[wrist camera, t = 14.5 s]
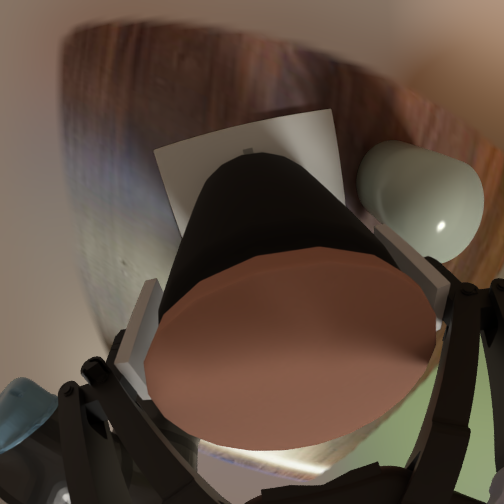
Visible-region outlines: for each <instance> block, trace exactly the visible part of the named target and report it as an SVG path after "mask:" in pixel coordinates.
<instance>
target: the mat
mask: <svg viewBox="0 0 504 504" xmlns="http://www.w3.org/2000/svg"><path fill="white" fill-rule="evenodd" d="M153 151H154V154H155V158H156V161H157V164H158V167H159V171H160V174H161V177H162V180H163V183H164V186H165V189H166V192H167V195H168V198H169V201H170V204H171V207H172V210H173V213H174V216H175V219H176V222H177V225H178V227H179V230H180V233H181V236H182V238H183V235H184V232H185V230H186V227H187V224H188V221H189V219H190V216H191V213H192V211H193V208H194V206H195V203H196V201H197V198H198V196H199V194H200V192H201V190H202V188H203V186H204V184H205V182H206V180H207V179H208V178H209V177H210V176H211V175H212V174H213V173H214V172H215V171H216V170H217V169H218V168H219V167H220V166H221V165H222V164H224V163H226V162H228V161H230V160H232V159H234V158H236V157H238V156H240V155H245V154H252V153H260V152H265V153H270V154H276V155H281V156H285V157H286V158H288V159H290V160H292V161H294V162H295V163H297V164H299V165H301V166H302V167H303V168H305V169H306V170H307V171H308V172H309V173H310V174H311V175H312V176H314V177H315V178H316V179H317V180H318V181H319V182H320V183H321V184H322V185H323V186H325V187H326V188H327V189H328V190H329V191H330V192H331V193H332V194H333V195H334V196H335V197H336V198H337V199H338V200H340V201H341V202H342V203H343V204H344V205H345V196H344V188H343V180H342V172H341V165H340V158H339V151H338V145H337V138H336V132H335V127H334V121H333V115H332V110H331V109H325V110H318V111H311V112H305V113H298V114H293V115H287V116H281V117H276V118H271V119H266V120H261V121H256V122H252V123H247V124H243V125H239V126H234V127H230V128H226V129H222V130H218V131H215V132H211V133H207V134H203V135H200V136H196V137H193V138H189V139H186V140H183V141H179V142H176V143H173V144H170V145H167V146H164V147H161V148H158V149H155V150H153Z"/></svg>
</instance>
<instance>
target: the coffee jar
mask: <svg viewBox="0 0 504 504" xmlns="http://www.w3.org/2000/svg"><path fill="white" fill-rule="evenodd" d="M435 346H436V314H435V312H434V310H433V309H432V307H431V305H430V303H429V301H428V299H427V298H426V296H425V294H424V292H423V290H422V289H421V287H420V286H419V285H418V284H417V283H416V282H415V281H414V280H413V279H412V278H411V277H409V276H408V275H407V274H405V273H403V272H402V271H401V270H400V268H399V267H398V265H397V264H396V262H395V261H394V259H393V258H392V256H391V255H390V253H389V252H388V250H387V249H386V247H385V246H384V245H383V244H382V243H381V242H380V240H379V239H378V238H377V237H376V236H375V235H374V234H373V233H372V232H371V231H370V230H369V229H368V228H367V227H366V226H365V225H364V224H363V223H362V222H361V221H360V220H359V219H358V218H357V217H356V216H355V215H354V214H353V213H352V212H351V211H350V210H349V209H348V208H347V207H346V206H345V205H344V204H343V203H342V202H341V201H340V200H338V199H337V198H336V197H335V196H334V195H333V194H332V193H331V192H330V191H329V190H328V189H327V188H326V187H325V186H323V185H322V184H321V183H320V182H319V181H318V180H317V179H316V178H315V177H314V176H312V175H311V174H310V173H309V172H308V171H307V170H306V169H305V168H303V167H302V166H301V165H299V164H297V163H295V162H294V161H292V160H290V159H288V158H286V157H285V156H281V155H276V154H270V153H265V152H260V153H252V154H245V155H240V156H238V157H236V158H234V159H232V160H230V161H228V162H226V163H224V164H222V165H221V166H220V167H219V168H218V169H217V170H216V171H215V172H214V173H213V174H212V175H211V176H210V177H209V178H208V179H207V180H206V182H205V184H204V186H203V188H202V190H201V192H200V194H199V196H198V198H197V201H196V203H195V206H194V208H193V211H192V213H191V216H190V219H189V221H188V224H187V227H186V230H185V232H184V235H183V238H182V240H181V243H180V246H179V249H178V252H177V255H176V257H175V260H174V263H173V266H172V269H171V272H170V275H169V278H168V281H167V284H166V287H165V290H164V293H163V296H162V299H161V303H160V306H159V309H158V329H157V331H156V333H155V336H154V338H153V340H152V343H151V345H150V347H149V350H148V352H147V355H146V357H145V360H144V362H143V363H144V371H145V378H146V385H147V391H148V395H149V396H150V398H151V399H152V401H153V402H154V403H155V405H156V406H157V408H158V409H159V410H160V412H161V413H162V414H163V416H164V417H165V418H166V419H168V420H169V421H171V422H172V423H173V424H175V425H176V426H178V427H179V428H181V429H182V430H183V431H185V432H186V433H188V434H190V435H192V436H195V437H197V438H200V439H203V440H205V441H208V442H211V443H213V444H216V445H220V446H225V447H231V448H237V449H244V450H252V451H269V450H288V449H295V448H301V447H306V446H312V445H317V444H320V443H323V442H326V441H329V440H332V439H335V438H338V437H341V436H344V435H346V434H349V433H351V432H353V431H355V430H357V429H359V428H361V427H363V426H364V425H366V424H368V423H370V422H372V421H374V420H375V419H377V418H379V417H380V416H382V415H383V414H384V413H385V412H387V411H388V410H389V409H390V408H392V407H393V406H394V405H395V404H397V403H398V402H399V401H400V400H401V399H403V398H404V397H405V396H406V395H407V393H408V392H409V391H410V390H411V389H412V387H413V386H414V385H415V384H416V382H417V381H418V380H419V379H420V377H421V376H422V375H423V373H424V372H425V370H426V367H427V365H428V363H429V360H430V358H431V356H432V353H433V351H434V348H435Z"/></svg>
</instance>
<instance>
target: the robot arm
mask: <svg viewBox="0 0 504 504" xmlns="http://www.w3.org/2000/svg"><path fill="white" fill-rule="evenodd" d="M374 235H375V236H376V237H377V238H378V239H379V240H380V242H381V243H382V244H383V245H384V246H385V247H386V249H387V250H388V252H389V253H390V255H391V256H392V258H393V259H394V261H395V262H396V264H397V265H398V267H399V268H400V270H401V271H402V272H403V273H405V274H407V275H408V276H409V277H411V278H412V279H413V280H414V281H415V282H416V283H417V284H418V285H419V286H420V287H421V289H422V290H423V292H424V294H425V296H426V298H427V299H428V301H429V303H430V305H431V307H432V309H433V310H434V312H435V314H436V331H437V330H440V328H441V324H442V321H444V322H445V323H446V325H447V326H446V330H445V333H444V337H443V340H442V341H443V347H442V352H441V357H440V362H439V366H438V371H437V375H436V379H435V384H434V387H433V391H432V395H431V398H430V402H429V405H428V409H427V412H426V415H425V418H424V421H423V424H422V427H421V430H420V433H419V436H418V439H417V441H416V444H415V447H414V449H413V451H412V453H411V455H410V457H409V459H408V461H407V463H406V466H405V468H402V467H397V466H379V463H378V462H375V463H372V464H369V465H366V466H363V467H360V468H357V469H354V470H351V471H349V472H347V473H346V474H343V475H341V476H340V477H338V478H336V479H334V480H332V481H330V482H328V483H326V484H324V485H318V486H317V485H316V486H315V485H314V486H304V485H302V486H301V485H300V486H298V485H289V486H283V487H276V488H270V489H262V490H261V494H262V495H260V496H257V497H255V498H253V499H251V500H249V501H248V502H246V503H245V504H504V279H500V278H498V279H494V280H493V281H492V282H491V286H490V288H487V289H478V287H477V286H475V285H474V284H471V283H466V282H463V283H461V282H460V281H459V280H458V279H457V278H456V277H455V276H454V275H453V274H452V273H451V272H450V271H449V270H447V269H446V268H445V267H444V266H442V264H441V263H440V262H439V261H438V260H437V259H434V258H432V257H430V256H426V257H423V256H421V255H420V254H419V253H418V252H417V251H416V250H415V249H414V248H413V247H412V246H410V245H409V244H408V243H407V242H406V241H405V240H404V239H402V238H401V237H400V236H399V235H398V234H397V233H395V232H394V231H393V230H392V229H391V228H390V227H388V226H387V225H386V224H381V225H377V226H374ZM162 296H163V291H162V289H161V286H160V284H159V282H158V280H157V278H155V279H151V280H147V281H145V283H144V286H143V288H142V290H141V293H140V295H139V298H138V300H137V303H136V305H135V308H134V310H133V313H132V315H131V318H130V320H129V323H128V326H127V328H126V329H123V330H121V331H120V332H119V333H118V334H117V336H116V337H115V339H114V342H113V345H112V347H111V351H110V352H109V355H108V358H107V360H106V363H105V361H104V360H103V359H102V358H101V357H98V356H96V357H92V358H90V359H88V360H87V361H86V362H85V363H84V364H83V366H82V368H81V375H82V376H83V377H84V378H85V380H86V381H87V382H88V384H85V385H83V386H79V385H78V384H77V383H76V382H75V381H69V382H66V383H65V384H63V385H62V386H61V388H60V390H59V392H58V397H57V396H56V395H54V394H50V393H49V392H47V391H46V390H45V389H43V388H42V387H40V386H39V385H37V384H36V383H35V382H33V381H32V380H30V379H28V378H24V377H20V378H16V379H14V380H13V381H12V382H11V383H10V384H9V385H8V386H7V387H6V388H5V389H4V390H3V391H2V393H1V394H0V504H231V503H230V502H228V501H227V500H226V499H224V498H223V497H222V496H221V495H220V494H219V493H218V492H217V491H215V490H214V489H213V488H212V487H211V486H210V485H209V484H208V483H207V482H206V481H205V480H204V479H203V478H202V477H201V476H200V475H199V474H198V473H197V454H198V444H199V442H200V438H197V437H195V436H192V435H190V434H188V433H186V432H185V431H183V430H182V429H181V428H179V427H178V426H176V425H175V424H173V423H172V422H171V421H169V420H168V419H166V418H165V417H164V416H163V414H162V413H161V412H160V410H159V409H158V408H157V406H156V405H155V403H154V402H153V401H152V399H151V398H150V396H149V395H148V391H147V385H146V378H145V371H144V363H143V362H144V360H145V357H146V355H147V352H148V350H149V347H150V345H151V343H152V340H153V338H154V336H155V333H156V331H157V329H158V309H159V306H160V303H161V299H162ZM480 334H481V338H482V343H483V348H484V353H485V358H486V363H487V369H488V375H489V382H490V389H491V398H492V408H493V420H494V446H495V465H496V472H497V473H496V474H495V476H494V478H493V480H492V483H491V486H490V489H489V493H490V494H491V495H490V498H489V501H488V503H485V502H482V501H479V500H476V499H474V498H471V497H469V496H466V495H464V494H461V493H459V492H456V491H454V488H455V485H456V482H457V480H458V477H459V474H460V471H461V468H462V464H463V461H464V457H465V454H466V450H467V446H468V443H469V439H470V433H471V431H470V428H468V423H469V418H470V413H471V408H472V403H473V397H474V390H475V383H476V376H477V366H478V355H479V342H480ZM108 420H109V421H110V423H111V425H112V427H113V432H111V431H110V428H109V424H108Z"/></svg>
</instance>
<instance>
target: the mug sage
mask: <svg viewBox="0 0 504 504" xmlns="http://www.w3.org/2000/svg"><path fill="white" fill-rule="evenodd" d="M356 188H357V193H358V197H359V199H360V202H361V203H362V205H363V207H364V208H365V209H366V210H367V211H368V212H369V213H370V214H371V215H372V216H374V217H375V218H376V219H377V220H378V221H379V222H380V223H381V224H386V225H387V226H388V227H390V228H391V229H392V230H393V231H394V232H395V233H397V234H398V235H399V236H400V237H401V238H402V239H404V240H405V241H406V242H407V243H408V244H409V245H410V246H412V247H413V248H414V249H415V250H416V251H417V252H418V253H419V254H420V255H421V256H423V257H426V256H430V257H432V258H434V259H437V260H438V261H439V262H440V263H444V262H447V261H449V260H451V259H453V258H454V257H456V256H457V255H459V254H460V253H461V252H462V251H463V250H464V249H465V248H466V247H467V246H468V244H469V243H470V242H471V240H472V239H473V237H474V235H475V233H476V232H477V229H478V227H479V224H480V221H481V218H482V214H483V207H484V194H483V188H482V184H481V181H480V179H479V177H478V175H477V173H476V172H475V171H474V169H473V168H472V167H470V166H469V165H468V164H466V163H464V162H462V161H459V160H456V159H454V158H451V157H448V156H445V155H443V154H440V153H437V152H434V151H431V150H428V149H425V148H422V147H419V146H415V145H412V144H409V143H405V142H402V141H398V140H388V141H384V142H381V143H379V144H377V145H375V146H374V147H373V148H371V149H370V150H369V151H368V152H367V154H366V155H365V156H364V158H363V159H362V161H361V163H360V166H359V169H358V172H357V178H356Z"/></svg>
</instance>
